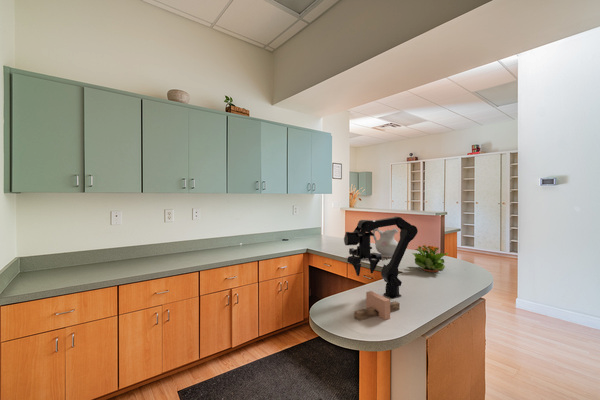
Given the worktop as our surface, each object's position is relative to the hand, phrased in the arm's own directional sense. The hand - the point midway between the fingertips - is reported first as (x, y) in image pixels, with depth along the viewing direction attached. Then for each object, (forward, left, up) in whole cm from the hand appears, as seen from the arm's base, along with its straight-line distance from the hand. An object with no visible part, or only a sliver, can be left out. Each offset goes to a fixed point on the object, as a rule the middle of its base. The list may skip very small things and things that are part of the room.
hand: (364, 274), depth 141 cm
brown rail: (+7, +17, -12) cm, 22 cm away
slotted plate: (+7, +17, -12) cm, 22 cm away
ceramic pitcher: (-77, -65, -12) cm, 102 cm away
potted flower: (-72, -18, -12) cm, 75 cm away
